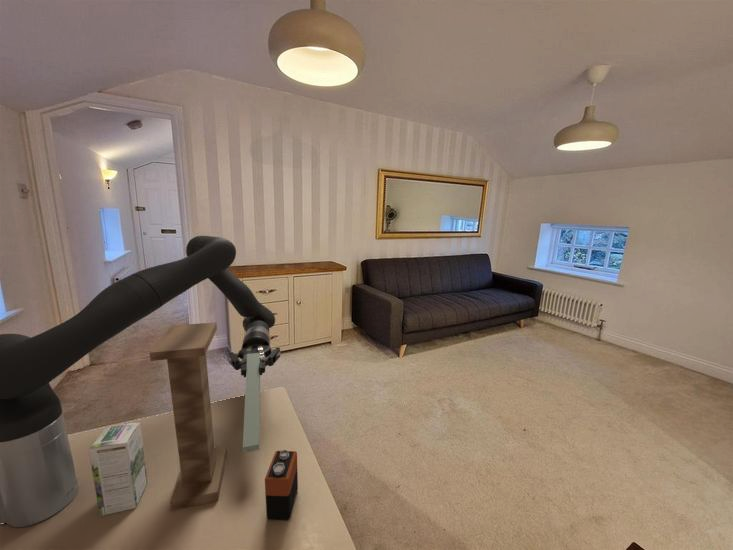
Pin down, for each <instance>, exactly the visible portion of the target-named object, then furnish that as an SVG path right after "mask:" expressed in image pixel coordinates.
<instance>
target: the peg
mask: <svg viewBox="0 0 733 550" xmlns="http://www.w3.org/2000/svg"><path fill="white" fill-rule="evenodd" d="M259 364H260V353H252V354H247V374H246V377H245V391H244V392H245V393H244V411H243V412H244V415H243V416H244V417H243V434H242V437H243V439H242V449H243V453H244V454H245V453H250V452H255V451H259V450H260V444H261V443H260V441H261V440H260V439H261V438H260V437H261V433H260V431H261V428H260V425H261V424H260V422H261V420H260V419H261V375H260V374H259Z"/></svg>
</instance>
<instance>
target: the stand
mask: <svg viewBox="0 0 733 550" xmlns="http://www.w3.org/2000/svg"><path fill="white" fill-rule="evenodd" d="M217 330H218V327H217V322H203V323H202V322H201V323H190V324H189V323H188V324H187V323H186V324H176V325H175V324H174V325H171V326H170V327H169V329H168V330H167V332H166V333H165V334H164V335H163V336H162V337H161V339H160V340H159V341H158V342H157V343H156V344H155V346H153V348H152V349H151V351H149V358H150V360H149V361H150V362H154V361H155V362H156V361H165V360H166V362H167V364H166V365H167V369H168V370H167V371H168V372H167V373H168V378H169V385H170V387H169V388H170V394H171V395H170V396H171V403H172V410H173V419H174V426H175V435H176V443H177V444H176V445H177V452H178V459H179V467H180V468H179V469H180V472H179V475H178V477H177V481H176V484H175V486H174V488H173V489H174V490H173V493H172V496H171V498H170V502H169V506H170V507H169V508H170V511H171V512H173V511H174V512H175V511H177V510H182V509H186V508H191V507H195V506H199V505H203V504H208V503H212V502H217V501H219V499H220V493H221V487H222V482H223V476H224V472H225V467H226V461H227V456H228V446H227V445H220V446H216V447H215V439H214V437H215V435H214V429H213V428H214V427H213V416H212V407H211V404H212V403H211V395H210V394H211V393H210V384H209V383H210V382H209V374H208V363H207V351H208V350H209V347H210V345H211V344H212V341H213V338H214V337H215V334H216V332H217Z"/></svg>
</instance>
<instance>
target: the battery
mask: <svg viewBox="0 0 733 550" xmlns="http://www.w3.org/2000/svg"><path fill="white" fill-rule="evenodd" d="M298 479H299V477H298V452H297V450H296V451H295V450H288V449H282V450H276V451H275V452H274V454H273V457H272V459H271V462H270V464H269V467H268V469H267V472H266V474H265V477H264V489H265V490H264V491H265V492H264V493H265V507H266V508H265V509H266V511H265V512H266V519H267V520H269V521H270V520H271V521H289V520H290V519H291V517H292V513H293V508H294V505H295V502H296V498H297V493H298V489H299V484H298V483H299V482H298Z"/></svg>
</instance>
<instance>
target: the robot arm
mask: <svg viewBox="0 0 733 550" xmlns="http://www.w3.org/2000/svg"><path fill="white" fill-rule="evenodd" d="M236 249H237V248H236V247H235V244H234V243H233V242H232V241H230V240H228V238H225V237H224V238H223V237H221V236H211V235H198V236H193V237H192V238H190V240H189V241H188V242H187V244H186V249H185V254H186V257H184V258H181V259H178V260H174V261H171V262H166V263H163V264H159V265H158V264H157V265H154V266H151V267H148V268H145V269H142V270H138V271H136V272H133V273H131V274H130V275H128V276H125V277H123V278H122V279H120V280H118V281H116V282H114V283H112V284H110V285H108V286H107V287H105V288H104V289H103V290H101V291H100V292H99V293H98V294H97V295H96V296H94V298H93V299H92V300H91V301H90V302H89V303H88V304H87V305H86V306H84V308H82V310H80V311H79V312H78V313H76V314H75V315H74V316H72V317H70V318H68V319H67V320H65V321H64V322H61V323H60V324H58V325H56V326H53V327H51V328H50V329H48V330H45V331H43V332H41V333H39V334H37V335H33V336H32V337H31V336H28V335H25V334H20V333H0V523H8V524H7V525H9V526H10V525H11V526H10V527H12V528H24V527H29V526H33V525H35V524H38V523H41V522H43V521H46V520H47V519H48V518H50V517H52V516H54V515H56V514H57V513H58V512H60V511H61V510H63V509H64V508H65V507H66V506H68V505H69V504H70V503H71V502H72V500H74V498H75V497H76V495H77V494H78V490H79V485H78V478H77V472H76V469H75V464H74V459H73V455H72V450H71V449H72V448H71V444H70V441H69V440H70V439H69V435H68V430H67V426H66V422H65V418H64V417H65V416H64V412H63V409H62V404H61V400H60V398H59V397H58V395H57V394H56V392H55V391H54V389H53V388H52V386H51V384H50V383H51V382H52V381H53V380H55V379H56V378H57V377H59V376H60V375H61V374H63V373H64V372H65V371H67V370H68V369H69V368H70V367H72V366H74V365H75V364H76V363H78V362H79V361H80V360H82V359H83V358H84V357H85V356H87V355H88V354H89V353H91V352H92V351H94V350H95V349H96V348H97V347H100V346H101V345H102V344H104V343H105V342H107V341H108V340H110V339H111V338H115V336H117V335H118V334H120V333H122V332H123V331H124V330H126V329H128V328H129V327H131V326H132V325H134V324H136V323H137V322H139V321H141V320H143V319H144V318H146V317H147V316H149V315H151V314H152V313H154V312H156V311H157V310H158V309H160V308H161V307H163V306H165V304H167V303H168V302H170V301H172V300H173V299H175V298H177V297H178V296H180V295H181V294H183V293H184V292H187V291H188V290H189V289H191V288H192V287H194V286H196V285H197V284H199V283H201V282H203V281H205V280H207V279H208V280H209V281H210V282H211V283H212V284H214V286H215V287H216V288H217V289H218V290H219V291H220V292H221V293H222V294H223V295H224V297H226V298H227V300H228V301H229V303H230V304H231V305H232V307H233V309H235V310H236V312H237V313H238V315H240V316H241V317H242V318H243V320H242V327H243V330H244V332H245V334H244V336H243V340H242V344H241V349H240V350H239V351H238V353H234V352H232V351H230V352H228V363H229V364H230V365H231V366H232V367H233V369H234V370H235V371H240V376H242V377H243V378H246V374H247V354H252V353H260V364H259V374H260V376H263V374H264V373H266V368H267V366H269V367H272V366H274V365H275V363H276V362H277V361H278V360H279V358H280V357H281V348H280V347H279V346H278V347H275V348H274V349H272V347H271V337H270V329H271V328H273V327H274V326H275V324H276V317H275V314H274V313H273V312H272V311H271V309H269V308H268V307H266V306H265V305H264V304H262V303H261V302H260V301H259V300H258V299H257V298H256V296H255V294H254V293H253V291H252V290H251V289H250V288H249V286H248V285H247V284H245V283H244V282H243V281H242V280H241V279H239V278H238V277H237V276H236V275H235V274H234V273H232V272H231V271H230V270H229V269H228V268H230V266H231V265H232V264H233V263H234V261H235V259H236V256H237V250H236Z"/></svg>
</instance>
